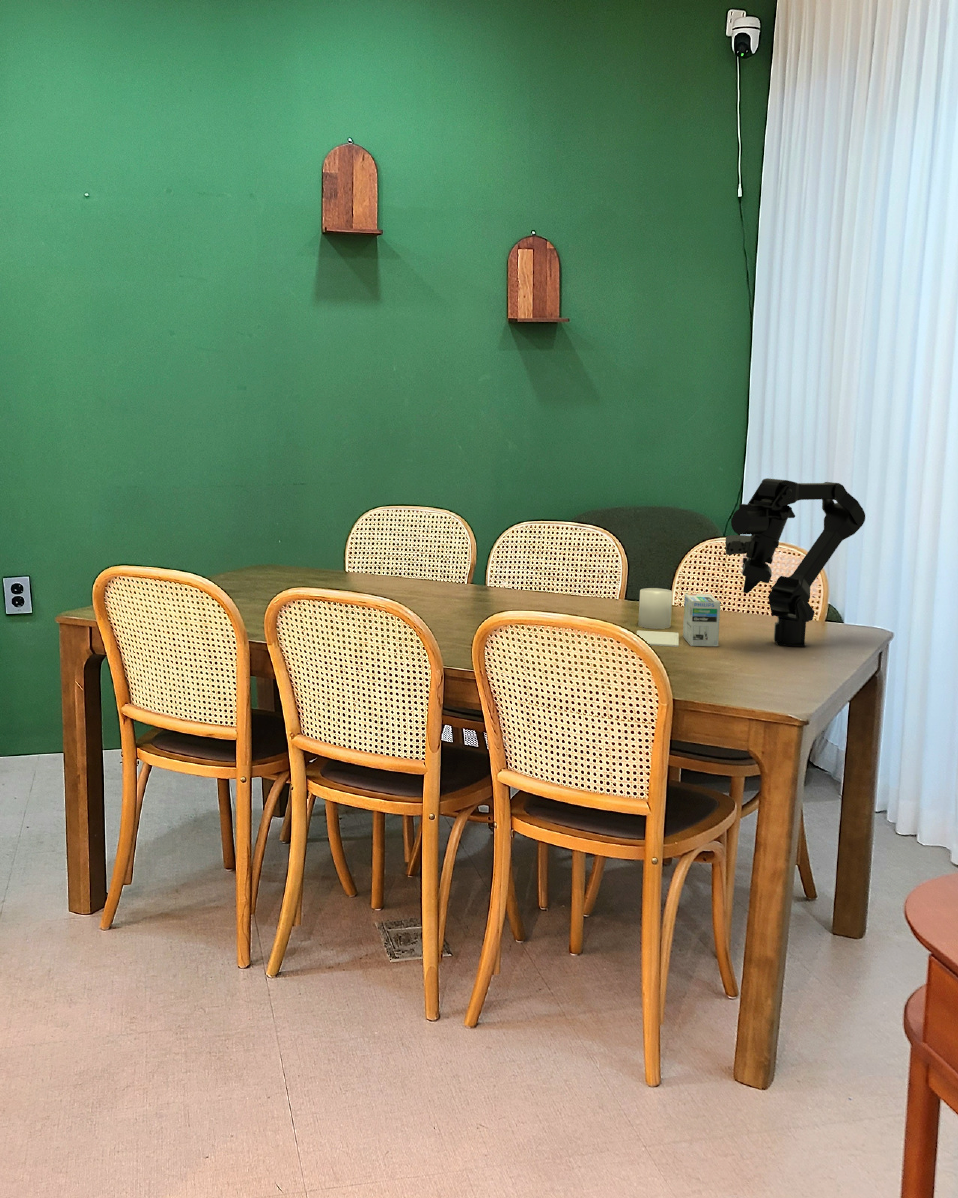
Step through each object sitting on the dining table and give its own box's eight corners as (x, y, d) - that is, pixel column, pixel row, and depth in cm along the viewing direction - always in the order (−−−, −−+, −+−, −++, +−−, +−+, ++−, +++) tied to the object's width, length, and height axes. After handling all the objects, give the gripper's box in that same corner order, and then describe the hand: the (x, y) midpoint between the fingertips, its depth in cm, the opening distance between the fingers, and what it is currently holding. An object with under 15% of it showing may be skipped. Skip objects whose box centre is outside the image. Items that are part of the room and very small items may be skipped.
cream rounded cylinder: (670, 623, 281) (672, 588, 279) (670, 630, 273) (672, 594, 271) (639, 621, 282) (640, 587, 280) (637, 628, 274) (639, 592, 273)
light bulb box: (718, 647, 255) (721, 601, 253) (690, 646, 255) (692, 601, 253) (709, 637, 265) (711, 593, 264) (681, 636, 265) (683, 592, 263)
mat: (678, 634, 268) (678, 632, 268) (678, 646, 254) (678, 645, 254) (637, 632, 269) (637, 630, 269) (634, 644, 256) (634, 642, 256)
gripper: (735, 509, 260) (713, 567, 267) (732, 535, 244) (710, 597, 250) (781, 523, 259) (758, 581, 266) (781, 551, 242) (757, 612, 249)
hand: (745, 592), depth 258 cm, fingers closed
